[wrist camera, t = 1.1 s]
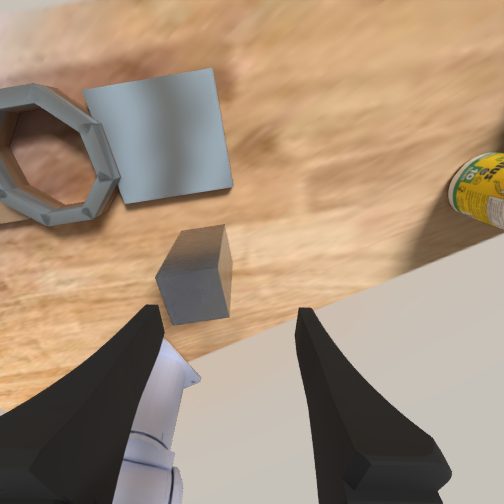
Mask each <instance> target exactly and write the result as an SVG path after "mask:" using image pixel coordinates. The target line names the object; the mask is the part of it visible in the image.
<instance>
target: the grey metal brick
mask: <svg viewBox="0 0 504 504" xmlns="http://www.w3.org/2000/svg"><path fill="white" fill-rule="evenodd" d="M155 279H156V281H157V284H158V287H159V289H160V292H161V295H162V297H163V300H164V303H165V305H166V308H167V311H168V313H169V316H170V319H171V321H172V324H173V325H180V324H187V323H194V322H201V321H208V320H215V319H222V318H229V317H230V299H231V280H232V258H231V253H230V248H229V243H228V238H227V233H226V229H225V224H223V225H217V226H210V227H204V228H197V229H191V230H184V231H181V233H180V234H179V236H178V238H177V240H176V241H175V243H174V245H173V247H172V248H171V250H170V252H169V254H168V255H167V257H166V259H165V261H164V263H163V264H162V266H161V268H160V270H159V271H158V273H157V275H156V277H155Z"/></svg>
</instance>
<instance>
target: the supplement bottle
mask: <svg viewBox="0 0 504 504" xmlns="http://www.w3.org/2000/svg"><path fill="white" fill-rule="evenodd" d="M448 197H449V202H450V204H451V206H452V207H453V208H454V210H456V211H457V212H459V213H461V214H463V215H466V216H468V217H471V218H474V219H476V220H479V221H482V222H484V223H487V224H490V225H492V226H495V227H498V228H500V229H503V230H504V153H496V152H491V153H485V154H482V155H479V156H477V157H475V158H473V159H471V160H470V161H468V162H467V163H466V164H464V166H463V167H462V168H461V169H460V170H459V171H458V172H457V174H456V175H455V176H454V178H453V179H452V181H451V184H450V187H449V191H448Z"/></svg>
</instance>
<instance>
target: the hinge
mask: <svg viewBox="0 0 504 504" xmlns="http://www.w3.org/2000/svg"><path fill="white" fill-rule="evenodd" d="M82 92H83V95H84V97H85V100H86V103H87V105H88V108H89V110H87V109H86V108H84V107H83V106H81V105H80V104H79V103H77V102H76V101H74V100H73V99H71V98H70V97H68V96H67V95H66V94H64V93H63V92H61V91H60V90H58V89H57V88H52V87H48V86H43V85H39V84H34V83H32V84H26V85H20V86H14V87H8V88H3V89H0V224H2V223H8V222H14V221H21V220H27V219H34V220H36V221H38V222H40V223H41V224H43V225H45V226H47V227H48V226H54V225H60V224H66V223H73V222H79V221H86V220H92V219H95V218H97V217H98V216H100V215H101V214H103V213H105V212H106V211H108V209H109V207H110V205H111V203H112V201H113V199H114V197H115V195H116V193H117V191H118V190H120V192H121V195H122V198H123V200H124V203H125V204H129V203H135V202H141V201H148V200H154V199H160V198H167V197H173V196H179V195H186V194H192V193H198V192H205V191H211V190H217V189H224V188H230V187H233V180H232V174H231V168H230V163H229V157H228V151H227V146H226V140H225V134H224V129H223V123H222V117H221V112H220V106H219V100H218V95H217V89H216V83H215V78H214V72H213V69H212V68H209V69H203V70H197V71H191V72H185V73H180V74H174V75H168V76H162V77H156V78H150V79H144V80H138V81H133V82H127V83H121V84H115V85H109V86H103V87H97V88H91V89H86V90H82ZM37 109H45V110H46V111H48V112H49V113H51V114H52V115H54V116H55V117H57V118H58V119H60V120H61V121H63V122H64V123H66V124H67V125H69V126H70V127H72V128H73V129H75V130H76V131H78V132H79V133H80V135H81V137H82V140H83V142H84V145H85V147H86V149H87V152H88V154H89V157H90V159H91V162H92V164H93V167H94V169H95V172H96V174H97V178H96V180H95V182H94V185H93V187H92V189H91V191H90V193H89V195H88V197H87V199H86V201H85V202H81V203H75V204H69V205H64V204H62V203H61V202H59V201H57V200H55V199H54V198H52V197H50V196H48V195H46V194H45V193H43V192H41V191H39V190H38V189H36V188H34V187H32V186H31V185H29V184H28V182H27V180H26V178H25V176H24V174H23V172H22V170H21V169H20V167H19V165H18V163H17V161H16V159H15V157H14V155H13V153H12V152H11V150H10V148H9V145H10V142H11V139H12V136H13V133H14V130H15V126H16V123H17V120H18V117H19V114H20V112H25V111H31V110H37Z"/></svg>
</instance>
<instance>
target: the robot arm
mask: <svg viewBox="0 0 504 504" xmlns="http://www.w3.org/2000/svg"><path fill="white" fill-rule="evenodd" d="M164 333H165V332H164V327H163V323H162V319H161V315H160V311H159V307H158V305H145V306H144V307H143V308H142V309H141V310H140V311H139V312H138V313H137V314H136V315H135V316H134V317H133V318H132V319H131V320H130V321H129V322H128V323H127V324H126V325H125V326H124V327H123V328H122V329H121V330H120V331H119V332H118V333H116V334H115V335H114V336H113V337H112V338H111V339H110V340H109V341H108V342H107V343H106V344H104V345H103V346H102V347H101V348H100V349H99V350H98V351H97V352H95V353H94V354H93V355H92V356H91V357H89V358H88V359H87V360H86V361H84V362H83V363H82V364H80V365H79V366H78V367H77V368H75V369H74V370H73V371H71V372H70V373H68V374H67V375H65V376H64V377H63V378H61V379H60V380H58V381H57V382H55V383H54V384H52V385H51V386H50V387H48V388H47V389H45V390H43V391H42V392H40V393H39V394H37V395H36V396H34V397H32V398H31V399H29V400H27V401H26V402H24V403H22V404H21V405H19V406H17V407H16V408H14V409H12V410H11V411H9V412H7V413H5V414H3V415H2V416H0V504H181V503H182V494H183V483H182V478H181V475H180V471H179V469H178V468H177V467H173V466H172V465H173V460H174V456H175V453H174V452H172V451H170V448H171V444H172V439H173V434H174V430H175V425H176V421H177V416H178V411H179V407H180V402H181V397H182V393H183V389H184V388H186V387H189V386H191V385H194V384H196V383H198V382H200V380H201V377H200V376H199V375H198V373H197V372H196V371H195V370H194V369H193V368H192V367H191V366H190V365H189V364H188V363H187V362H186V360H185V359H184V358H183V357H182V356H181V355H180V354H179V353H178V352H177V351H176V350H175V349H174V347H173V346H172V345H171V344H170V343H169V342H168V341H167V340H166V339H164V338H163V337H164ZM295 343H296V352H297V357H298V362H299V367H300V371H301V376H302V380H303V385H304V390H305V394H306V399H307V404H308V410H309V418H310V426H311V434H312V441H313V450H314V459H315V469H316V478H317V489H318V499H319V504H443V502H442V500H441V498H440V496H439V493H438V490H439V489H440V488H441V487H443V486H444V485H445V484H446V483H447V482H448V481H449V480H450V478H451V476H452V471H451V469H450V467H449V465H448V463H447V461H446V459H445V457H444V456H443V454H442V452H441V450H440V449H439V447H438V446H437V444H436V443H435V441H434V439H433V438H432V437H431V436H430V435H428V434H427V433H426V432H424V431H423V430H422V429H420V428H419V427H418V426H417V425H415V424H414V423H413V422H411V421H410V420H409V419H408V418H406V417H405V416H404V415H403V414H402V413H400V412H399V411H398V410H397V409H396V408H395V407H393V406H392V405H391V404H390V403H389V402H388V401H387V400H386V399H385V398H384V397H383V396H382V395H381V394H379V393H378V392H377V391H376V390H375V389H374V388H373V387H372V386H371V385H370V384H369V383H368V382H367V381H366V380H365V379H364V378H363V377H362V376H361V374H360V373H359V372H358V371H357V370H356V369H355V368H354V367H353V366H352V364H351V363H350V362H349V361H348V360H347V359H346V357H345V356H344V355H343V353H342V352H341V351H340V350H339V348H338V347H337V346H336V345H335V343H334V342H333V341H332V339H331V338H330V336H329V335H328V333H327V332H326V331H325V329H324V328H323V326H322V324H321V323H320V321H319V320H318V318H317V316H316V314H315V313H314V311H313V309H312V308H299V310H298V317H297V323H296V330H295Z"/></svg>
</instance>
